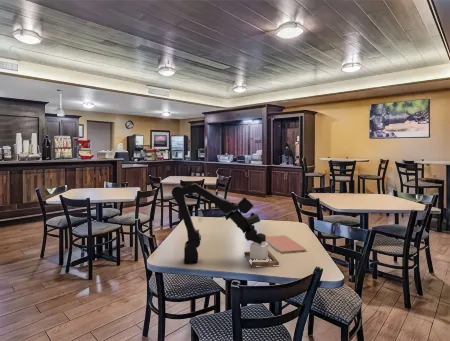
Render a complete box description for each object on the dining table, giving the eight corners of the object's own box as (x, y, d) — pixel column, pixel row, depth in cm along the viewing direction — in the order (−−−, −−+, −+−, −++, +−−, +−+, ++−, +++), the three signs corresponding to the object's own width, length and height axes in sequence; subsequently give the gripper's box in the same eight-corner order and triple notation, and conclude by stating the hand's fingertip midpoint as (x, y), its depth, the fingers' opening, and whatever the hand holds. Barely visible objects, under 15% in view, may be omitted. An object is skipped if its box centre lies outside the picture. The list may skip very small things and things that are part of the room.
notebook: (260, 239, 187) (260, 236, 187) (285, 237, 191) (285, 234, 191) (279, 254, 161) (279, 251, 161) (306, 252, 165) (306, 249, 165)
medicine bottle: (268, 256, 152) (269, 233, 151) (262, 260, 145) (263, 237, 144) (255, 253, 155) (256, 231, 154) (249, 257, 149) (250, 234, 148)
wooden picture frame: (252, 267, 142) (252, 263, 142) (244, 255, 157) (244, 251, 157) (278, 266, 144) (278, 262, 144) (268, 254, 160) (268, 250, 160)
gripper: (253, 213, 139) (275, 236, 140) (249, 205, 157) (268, 226, 159) (236, 229, 139) (258, 252, 140) (234, 219, 158) (253, 239, 159)
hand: (260, 241), depth 150 cm, fingers closed on medicine bottle, 6 cm apart
